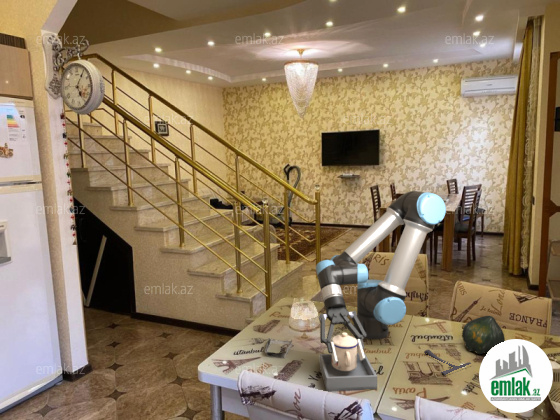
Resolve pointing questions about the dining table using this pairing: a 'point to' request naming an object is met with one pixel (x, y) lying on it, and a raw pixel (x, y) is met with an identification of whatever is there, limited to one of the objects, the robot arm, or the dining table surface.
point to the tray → (347, 375)
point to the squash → (482, 334)
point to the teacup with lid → (345, 352)
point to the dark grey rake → (446, 363)
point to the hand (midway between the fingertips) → (349, 360)
